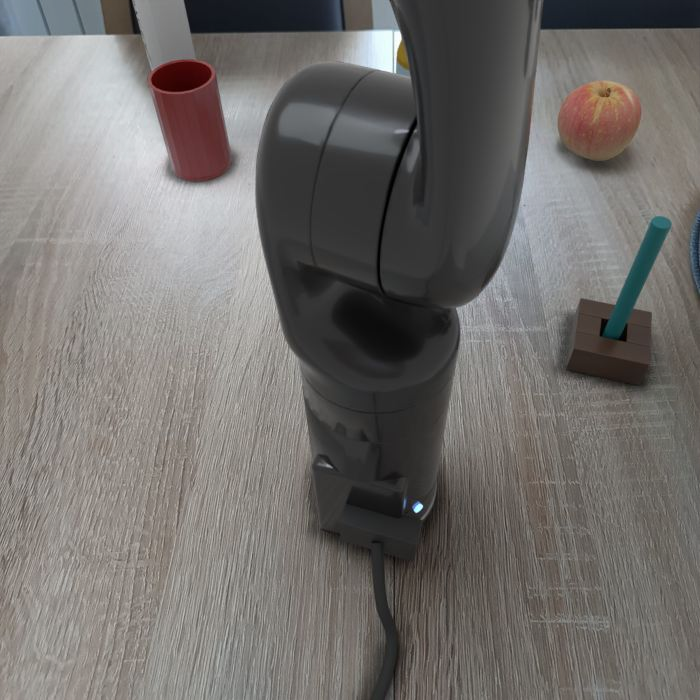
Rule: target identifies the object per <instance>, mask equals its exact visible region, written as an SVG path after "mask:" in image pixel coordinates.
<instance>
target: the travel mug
mask: <svg viewBox="0 0 700 700" xmlns="http://www.w3.org/2000/svg"><path fill="white" fill-rule="evenodd" d="M131 1H132V5H133V8H134V12H135V15H136V20H137V22H138V27H139V30H140V35H141V38H142V41H143V45H144V50H145V53H146V56H147V61H148V64H149V67H150V71H151V72H152V71H153V70H154V69H155V68H157V67H159V66H161V65H163V64H165V63H168V62H171V61H177V60H186V59H193V60H197V57H196V52H195V47H194V42H193V38H192V34H191V28H190V23H189V19H188V13H187V9H186V4H185V0H131Z"/></svg>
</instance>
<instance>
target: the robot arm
mask: <svg viewBox="0 0 700 700" xmlns="http://www.w3.org/2000/svg"><path fill="white" fill-rule="evenodd" d="M388 2H389V4H390V6H391V9H392V12H393V15H394V17H395V21H396V25H397V27H398V30H399V32H400V36H401V37H402V41H403V45H404V49H405V53H406V57H407V61H408V66H409V71H410V77H409V76H405V75H400V74H396V72H391V71H386V70H381V69H378V68H373V67H369V66H363V65H359V64H354V63H350V62H344V61H338V60H336V61H335V60H320V61H316V62H311V63H309V64H307V65H304V66H303V67H301V68H300V69H298V70H297V71H295V72H294V73H293V74H292V75H291V76H289V78H288V79H287V80H286V81H285V82H284V83H283V84H282V86H281V88H280V89H279V91H278V92H277V94H276V95H275V97H274V99H273V101H272V103H271V104H270V106H269V109H268V111H267V113H266V116H265V118H264V122H263V126H262V130H261V132H260V133H261V134H260V137H259V140H258V141H259V142H258V146H257V153H256V159H255V176H254V177H255V178H254V183H255V184H254V202H255V210H256V211H255V212H256V220H257V229H258V234H259V235H258V236H259V240H260V244H261V249H262V253H263V258H264V262H265V266H266V269H267V275H268V278H269V282H270V286H271V290H272V295H273V298H274V302H275V306H276V311H277V314H278V315H277V316H278V320H279V323H280V328H281V332H282V335H283V338H284V340H285V342H286V344H287V346H288V348H289V349H290V350H291V352H292V353H293V354H294V355H295V357H296V358H297V359H298V365H299V373H300V379H301V388H302V396H303V403H304V409H305V417H306V418H305V419H306V425H307V432H308V439H309V445H310V446H309V448H310V453H311V460H312V461H311V462H312V463H311V475H312V482H313V488H314V489H313V490H314V497H315V504H316V509H317V517H318V524H319V525H318V526H319V528H320V529H322V530H324V531H327V532H331V533H334V534H338V535H339V536H340V541H342V542H344V543H348V544H351V545H355V546H358V547H362V548H365V549H368V550H370V551H371V552H370V553H371V572H372V585H373V588H372V589H373V595H374V602H375V608H376V612H377V615H378V619H379V621H380V622H381V625H382V627H383V631H384V635H385V647H384V649H385V650H384V655H383V660H382V661H383V663H382V666H381V670H380V673H379V675H378V678H377V681H376V683H375V686H374V688H373V691H372V694H371V696H370V697H369V700H385V697H386V695H387V693H388V691H389V688H390V685H391V681H392V679H393V676H394V672H395V668H396V663H397V659H398V657H397V656H398V648H399V647H398V646H399V635H398V629H397V625H396V623H395V620H394V617H393V615H392V613H391V610H390V607H389V601H388V595H387V588H386V587H387V586H386V573H385V572H386V571H385V555H389V556H391V557H395V558H399V559H401V560H405V561H407V562H412V563H414V562H415V559H416V555H417V552H418V548H419V544H420V540H421V533H422V529H423V528H422V527H423V523H425V522H426V520H427V519H428V517H429V516H430V514H431V512H432V510H433V507H434V505H435V501H436V496H437V489H438V487H437V486H438V475H439V469H440V463H441V462H440V461H441V457H442V449H443V443H444V437H445V431H446V425H447V419H448V413H449V408H450V401H451V396H452V391H453V385H454V378H455V372H456V366H457V362H458V357H459V350H460V345H461V321H460V317H459V313H458V310H457V308H461V307H464V306H466V305H468V304H469V303H471V302H473V301H474V300H475V299H476V298H478V297H479V296H480V295H481V294H482V292H483V291H484V290H485V289H486V288H487V287H488V285H489V284H490V283H491V282H492V280H493V279H494V277H495V275H496V274H497V272H498V271H499V268H500V266H501V264H502V262H503V260H504V259H505V255H506V252H507V250H508V248H509V244H510V242H511V239H512V235H513V232H514V229H515V225H516V221H517V217H518V214H519V208H520V203H521V200H522V194H523V188H524V181H525V174H526V168H527V167H526V166H527V159H528V152H529V145H530V137H531V136H530V134H531V125H532V116H533V107H534V106H533V105H534V97H535V95H534V94H535V86H536V76H537V69H538V68H537V67H538V57H539V47H540V39H541V29H542V19H543V18H542V17H543V9H544V0H388ZM384 554H385V555H384Z"/></svg>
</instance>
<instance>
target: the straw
mask: <svg viewBox="0 0 700 700" xmlns="http://www.w3.org/2000/svg"><path fill="white" fill-rule="evenodd" d="M671 228H672V221H671V220H670V219H669V218H668V217H666V216H663V215H656V216H654V217H652V218H651V221H650V222H649V225H648V227H647V230H646V232H645V235H644V237H643V239H642V241H641V244H640V246H639V248H638V250H637V253H636V255H635V257H634V260H633V263H632V265H631V267H630V270H629V272H628V274H627V276H626V278H625V280H624V281H625V282H624V284H623V286H622V288H621V289H620V290H621V291H620V292H619V295H618V297H617V300H616V302H615V304H614V305H615V307H614V309H613V311H612V314H611V316H610V318H609V321H608V323H607V325H606V328H605V330H604V332H603V335H602V337H604V338H609V339H614V340H619V338H620V336H621V334H622V332H623V329H624V327H625V325H626V323H627V321H628V319H629V316H630V314H631V312H632V310H633V309H635V305H636V304H637V301H638V299H639V297H640V295H641V292H642V290H643V289H644V286H645V284H646V282H647V280H648V278H649V275H650V273H651V271H652V268H653V266H654V264H655V263H656V260H657V258H658V256H659V254H660V251H661V250H662V247H663V245H664V243H665V240H666V238H667V236H668V234H669V232H670V230H671Z"/></svg>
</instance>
